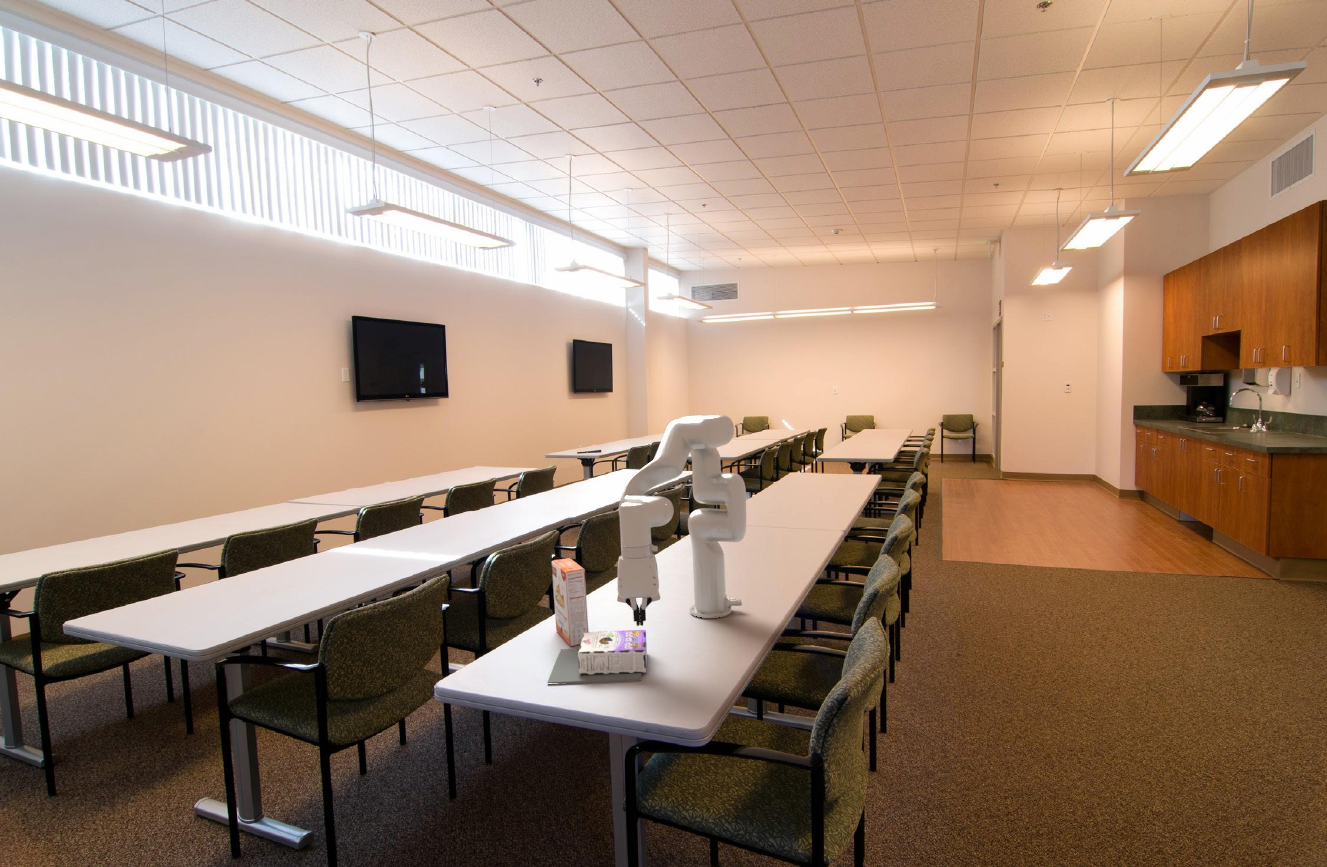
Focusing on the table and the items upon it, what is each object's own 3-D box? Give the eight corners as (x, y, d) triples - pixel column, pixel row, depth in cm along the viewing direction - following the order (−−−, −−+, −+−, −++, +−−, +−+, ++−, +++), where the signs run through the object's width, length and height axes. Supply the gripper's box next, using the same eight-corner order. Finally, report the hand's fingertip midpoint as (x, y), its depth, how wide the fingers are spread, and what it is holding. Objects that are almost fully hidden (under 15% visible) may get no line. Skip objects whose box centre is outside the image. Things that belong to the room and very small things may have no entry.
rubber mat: (643, 648, 177) (643, 645, 177) (640, 681, 158) (640, 678, 157) (560, 651, 178) (560, 649, 178) (547, 685, 158) (547, 682, 158)
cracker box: (554, 631, 193) (550, 560, 191) (574, 627, 195) (571, 557, 194) (568, 648, 180) (564, 571, 179) (589, 643, 182) (585, 568, 181)
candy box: (647, 651, 174) (584, 653, 174) (646, 628, 174) (583, 631, 174) (646, 673, 160) (577, 676, 160) (645, 649, 160) (576, 652, 160)
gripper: (666, 546, 169) (669, 617, 170) (607, 549, 169) (611, 620, 170) (666, 553, 162) (670, 628, 163) (605, 556, 162) (608, 630, 163)
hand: (640, 623), depth 167 cm, fingers closed
